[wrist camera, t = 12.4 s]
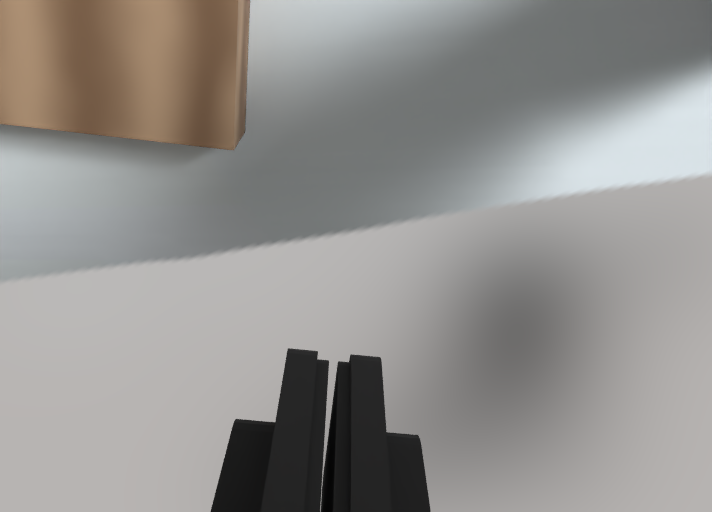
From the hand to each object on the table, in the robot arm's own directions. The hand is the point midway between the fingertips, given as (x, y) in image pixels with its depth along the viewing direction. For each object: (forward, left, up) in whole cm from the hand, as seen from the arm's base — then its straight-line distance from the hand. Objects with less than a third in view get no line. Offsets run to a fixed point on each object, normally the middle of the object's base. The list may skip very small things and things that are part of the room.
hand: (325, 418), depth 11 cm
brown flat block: (+14, -4, -29) cm, 33 cm away
